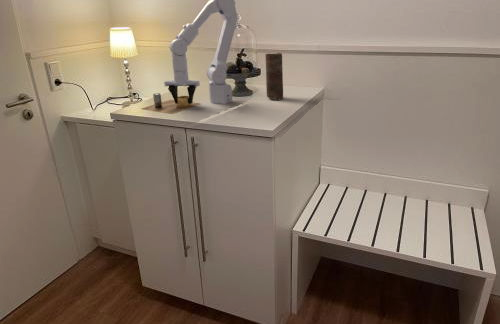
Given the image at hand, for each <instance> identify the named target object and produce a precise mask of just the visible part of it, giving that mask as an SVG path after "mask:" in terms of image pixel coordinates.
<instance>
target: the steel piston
mask: <svg viewBox="0 0 500 324" xmlns="http://www.w3.org/2000/svg"><path fill="white" fill-rule="evenodd" d="M152 97H153V105H155V108H161V107H162V102H163V101H162V95H161V93H160V92H158V93H157V92H156V93H153V94H152Z"/></svg>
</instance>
